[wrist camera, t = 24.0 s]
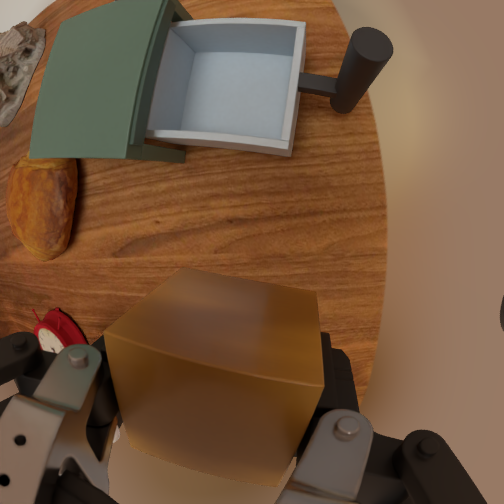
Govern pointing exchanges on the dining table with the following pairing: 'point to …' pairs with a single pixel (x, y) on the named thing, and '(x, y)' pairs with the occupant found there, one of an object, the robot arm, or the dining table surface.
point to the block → (218, 373)
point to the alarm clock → (57, 332)
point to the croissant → (42, 204)
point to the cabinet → (104, 83)
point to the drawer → (250, 82)
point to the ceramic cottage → (17, 66)
